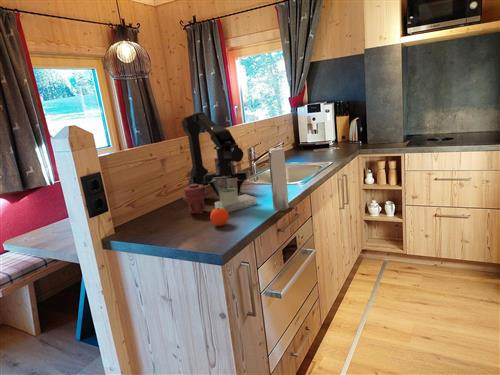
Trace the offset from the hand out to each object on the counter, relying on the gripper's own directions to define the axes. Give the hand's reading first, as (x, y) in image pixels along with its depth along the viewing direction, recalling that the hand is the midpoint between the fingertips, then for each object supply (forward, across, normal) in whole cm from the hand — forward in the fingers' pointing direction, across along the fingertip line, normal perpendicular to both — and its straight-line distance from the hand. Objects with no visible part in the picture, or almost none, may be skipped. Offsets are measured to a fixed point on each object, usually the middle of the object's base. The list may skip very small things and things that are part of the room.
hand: (228, 195), depth 155 cm
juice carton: (+6, +9, -27) cm, 29 cm away
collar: (+3, 0, 0) cm, 3 cm away
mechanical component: (+6, +14, +4) cm, 15 cm away
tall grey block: (+6, -23, +3) cm, 24 cm away
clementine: (+6, -2, +20) cm, 21 cm away
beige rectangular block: (+6, -2, -2) cm, 6 cm away
